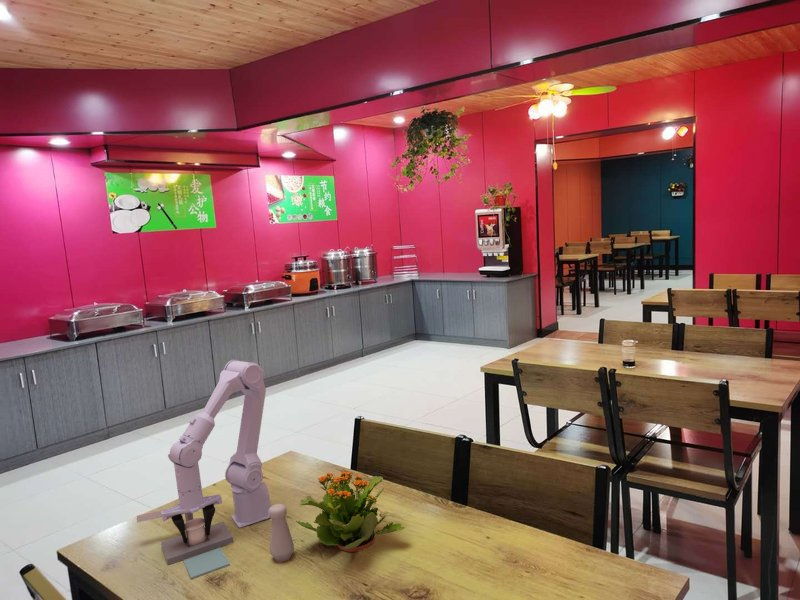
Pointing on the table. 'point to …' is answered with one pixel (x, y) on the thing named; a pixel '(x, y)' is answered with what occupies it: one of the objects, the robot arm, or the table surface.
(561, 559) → the table surface
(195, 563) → the mat
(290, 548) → the salt shaker
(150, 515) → the clip
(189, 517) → the clip post
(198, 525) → the plug
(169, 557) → the socket block
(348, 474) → the potted flower
